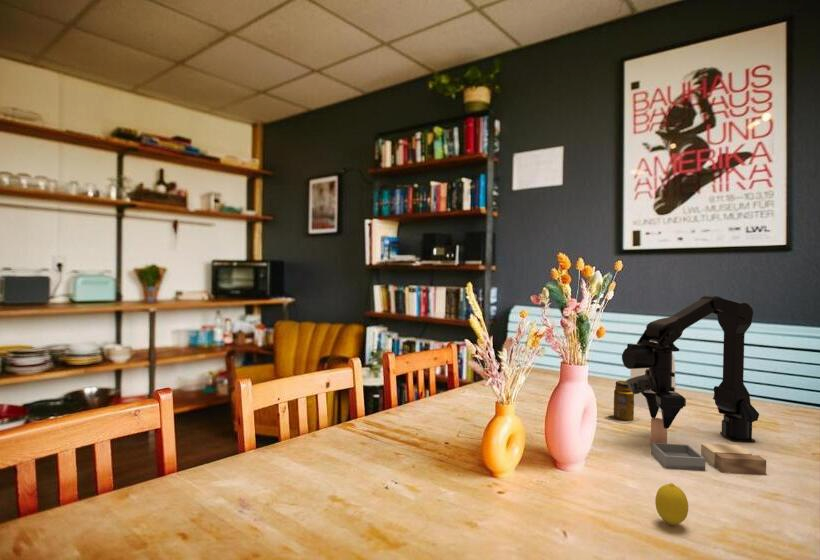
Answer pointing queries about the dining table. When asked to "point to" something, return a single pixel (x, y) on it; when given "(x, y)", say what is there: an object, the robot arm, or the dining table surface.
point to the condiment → (623, 404)
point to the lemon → (671, 504)
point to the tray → (678, 456)
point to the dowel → (658, 431)
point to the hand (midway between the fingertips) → (659, 422)
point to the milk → (639, 398)
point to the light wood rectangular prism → (720, 451)
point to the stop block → (740, 463)
